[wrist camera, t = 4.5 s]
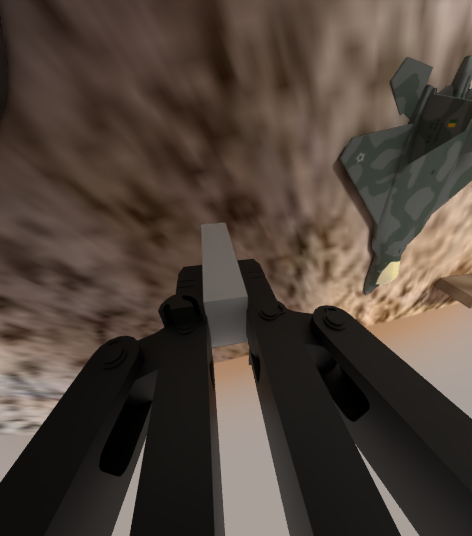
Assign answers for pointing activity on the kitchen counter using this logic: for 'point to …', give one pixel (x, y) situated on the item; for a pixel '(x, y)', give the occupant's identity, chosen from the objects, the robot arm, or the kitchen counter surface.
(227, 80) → the kitchen counter surface
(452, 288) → the brown wooden bracket
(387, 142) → the fighter jet
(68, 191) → the kitchen counter surface
